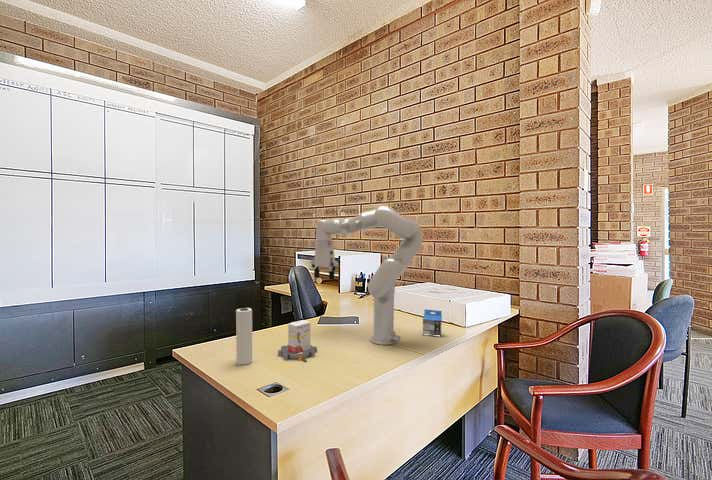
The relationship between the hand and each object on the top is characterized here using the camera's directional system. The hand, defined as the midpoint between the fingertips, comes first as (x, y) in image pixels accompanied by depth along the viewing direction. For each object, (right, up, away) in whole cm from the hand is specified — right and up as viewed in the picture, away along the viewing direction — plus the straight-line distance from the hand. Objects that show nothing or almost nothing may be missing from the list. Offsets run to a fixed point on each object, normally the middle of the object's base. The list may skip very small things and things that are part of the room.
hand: (324, 278), depth 180 cm
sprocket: (-9, -29, -27) cm, 41 cm away
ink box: (-8, -28, -29) cm, 41 cm away
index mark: (-5, -30, -36) cm, 46 cm away
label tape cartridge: (+54, -29, -1) cm, 61 cm away
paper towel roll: (-28, -30, -37) cm, 55 cm away
